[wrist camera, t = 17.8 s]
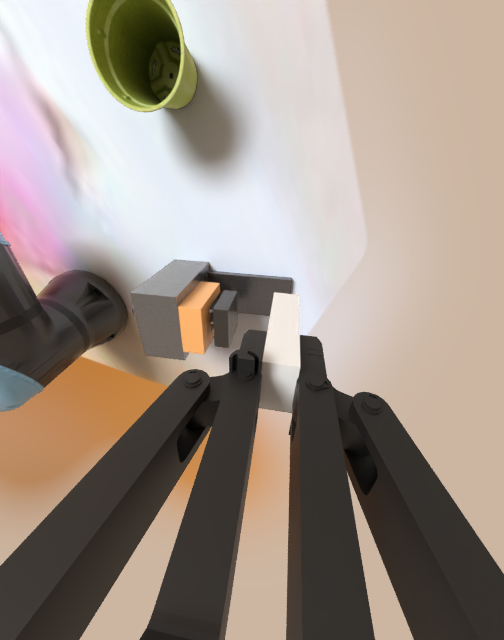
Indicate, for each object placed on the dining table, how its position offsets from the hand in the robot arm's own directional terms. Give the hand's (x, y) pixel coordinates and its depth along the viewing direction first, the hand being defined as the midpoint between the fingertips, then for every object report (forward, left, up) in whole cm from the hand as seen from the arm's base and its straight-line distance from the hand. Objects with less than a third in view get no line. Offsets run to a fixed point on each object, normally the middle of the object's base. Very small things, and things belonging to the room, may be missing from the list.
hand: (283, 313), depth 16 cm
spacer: (-12, -11, -21) cm, 26 cm away
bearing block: (-9, -11, -26) cm, 29 cm away
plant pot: (-16, +17, -26) cm, 35 cm away
